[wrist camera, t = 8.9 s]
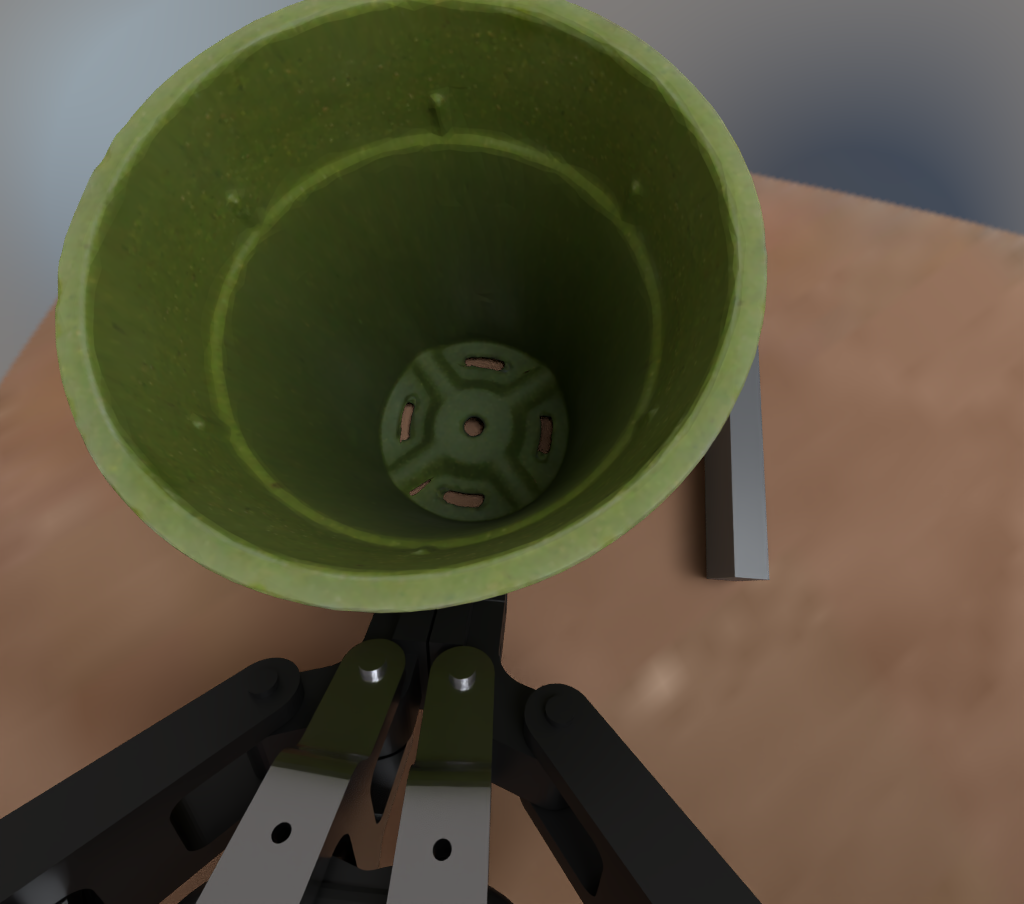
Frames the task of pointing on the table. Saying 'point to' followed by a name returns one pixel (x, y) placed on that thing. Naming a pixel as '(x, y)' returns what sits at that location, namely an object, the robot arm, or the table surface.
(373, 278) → the plant pot
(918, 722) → the table surface
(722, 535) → the bay
